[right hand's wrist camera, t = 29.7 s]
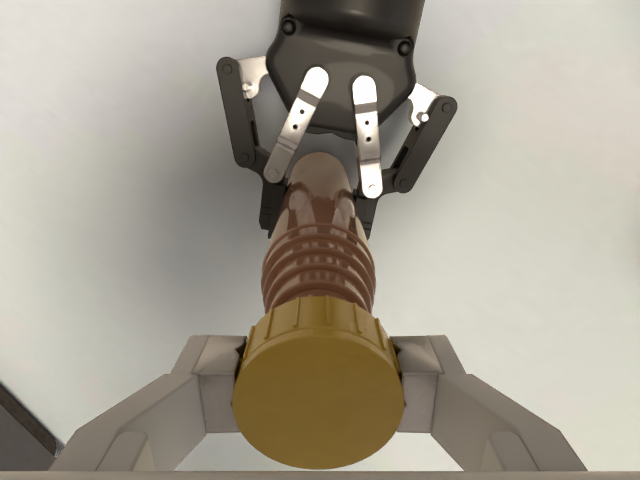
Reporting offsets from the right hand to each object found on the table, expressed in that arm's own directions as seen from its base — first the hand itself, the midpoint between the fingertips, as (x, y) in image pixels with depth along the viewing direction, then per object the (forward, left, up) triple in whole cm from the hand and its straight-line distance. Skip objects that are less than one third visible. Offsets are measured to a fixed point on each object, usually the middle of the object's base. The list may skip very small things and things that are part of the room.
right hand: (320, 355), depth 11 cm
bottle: (0, 0, -22) cm, 22 cm away
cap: (0, 0, +2) cm, 2 cm away
